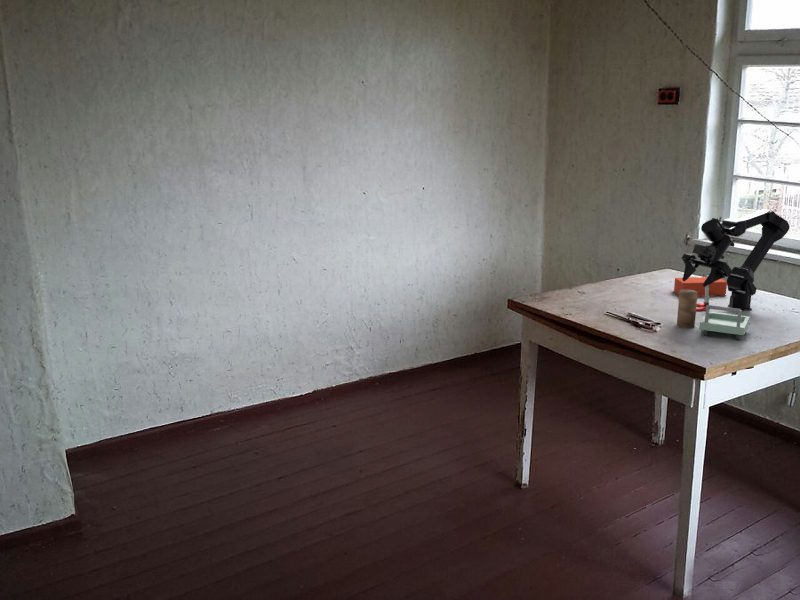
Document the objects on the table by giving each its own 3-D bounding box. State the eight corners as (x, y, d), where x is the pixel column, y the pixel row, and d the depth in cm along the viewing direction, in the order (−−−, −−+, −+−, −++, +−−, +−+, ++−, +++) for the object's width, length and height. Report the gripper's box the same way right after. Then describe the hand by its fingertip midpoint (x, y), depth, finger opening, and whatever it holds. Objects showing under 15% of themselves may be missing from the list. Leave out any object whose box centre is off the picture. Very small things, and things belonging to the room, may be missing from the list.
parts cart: (705, 324, 270) (708, 294, 267) (748, 330, 263) (751, 299, 260) (698, 335, 258) (701, 304, 255) (743, 341, 251) (746, 310, 248)
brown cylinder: (690, 322, 272) (692, 289, 269) (697, 327, 267) (700, 293, 263) (673, 323, 272) (676, 289, 269) (681, 328, 266) (684, 294, 263)
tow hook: (684, 311, 287) (710, 311, 285) (685, 278, 283) (711, 278, 281) (681, 305, 295) (706, 305, 292) (682, 273, 291) (708, 273, 289)
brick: (682, 297, 305) (683, 283, 303) (673, 291, 313) (674, 277, 312) (726, 296, 305) (727, 281, 304) (716, 290, 314) (717, 276, 312)
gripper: (686, 231, 278) (662, 265, 276) (728, 240, 262) (703, 276, 260) (700, 249, 283) (677, 282, 282) (742, 258, 267) (718, 294, 266)
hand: (693, 283), depth 272 cm, fingers open, 9 cm apart
